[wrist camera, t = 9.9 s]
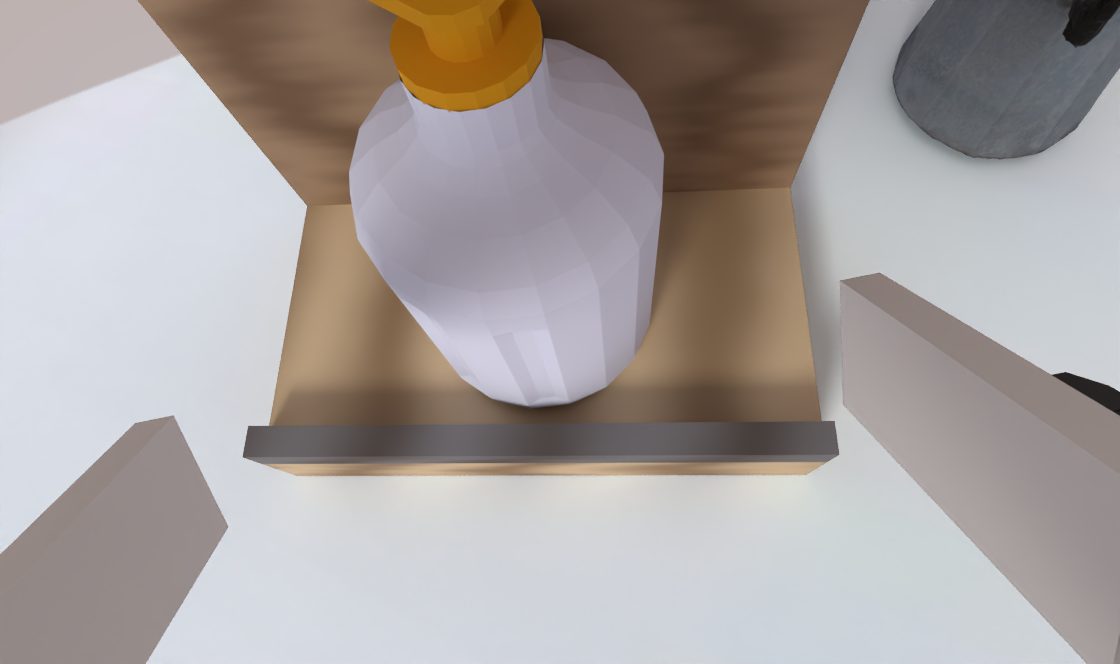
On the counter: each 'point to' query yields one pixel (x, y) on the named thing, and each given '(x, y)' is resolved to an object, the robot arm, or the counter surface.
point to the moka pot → (1007, 71)
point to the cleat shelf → (681, 264)
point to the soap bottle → (511, 199)
